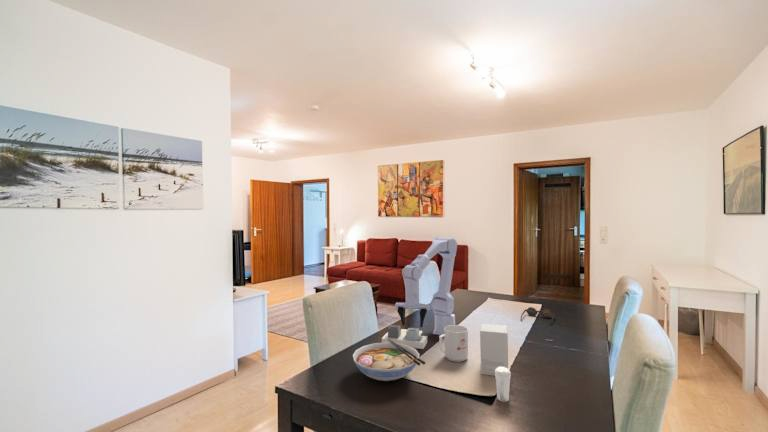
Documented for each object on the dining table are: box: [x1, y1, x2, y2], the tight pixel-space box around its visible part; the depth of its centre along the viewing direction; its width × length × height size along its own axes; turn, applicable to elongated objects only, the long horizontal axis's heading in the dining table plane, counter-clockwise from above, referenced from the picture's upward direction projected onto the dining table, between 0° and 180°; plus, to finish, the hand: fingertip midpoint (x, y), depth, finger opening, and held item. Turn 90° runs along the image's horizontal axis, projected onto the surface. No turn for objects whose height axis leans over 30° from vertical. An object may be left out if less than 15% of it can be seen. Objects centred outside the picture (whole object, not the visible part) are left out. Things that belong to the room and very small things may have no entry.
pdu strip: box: [381, 324, 428, 350], centre depth 147 cm, size 18×8×7 cm, turn 72°
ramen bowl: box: [352, 339, 426, 382], centre depth 117 cm, size 25×23×8 cm
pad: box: [401, 328, 423, 336], centre depth 158 cm, size 10×10×1 cm
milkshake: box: [493, 366, 512, 403], centre depth 102 cm, size 4×5×10 cm
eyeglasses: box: [520, 306, 556, 327], centre depth 178 cm, size 15×15×5 cm
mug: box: [438, 324, 469, 363], centre depth 131 cm, size 12×9×11 cm
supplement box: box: [479, 323, 509, 377], centre depth 121 cm, size 9×9×15 cm
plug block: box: [406, 327, 420, 342], centre depth 146 cm, size 4×4×6 cm
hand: (412, 325), depth 146 cm, fingers open, 7 cm apart
